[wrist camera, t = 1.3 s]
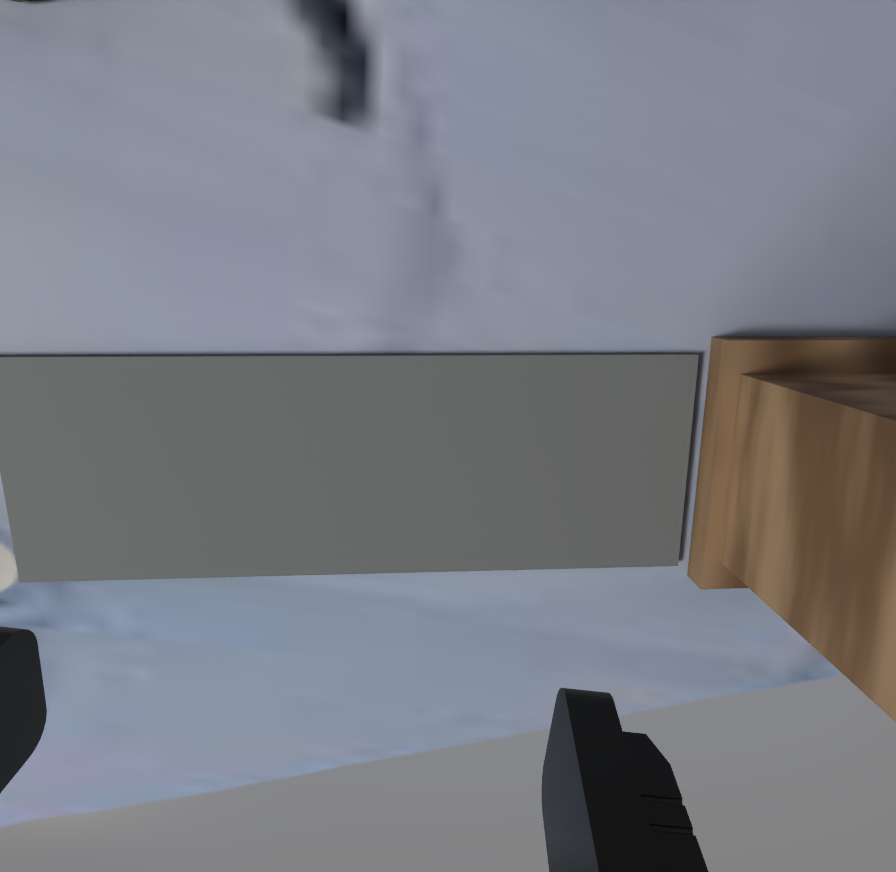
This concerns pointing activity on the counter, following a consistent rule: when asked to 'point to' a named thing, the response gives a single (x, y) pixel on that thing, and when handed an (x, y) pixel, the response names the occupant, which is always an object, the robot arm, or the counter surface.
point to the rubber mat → (342, 463)
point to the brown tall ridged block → (805, 493)
